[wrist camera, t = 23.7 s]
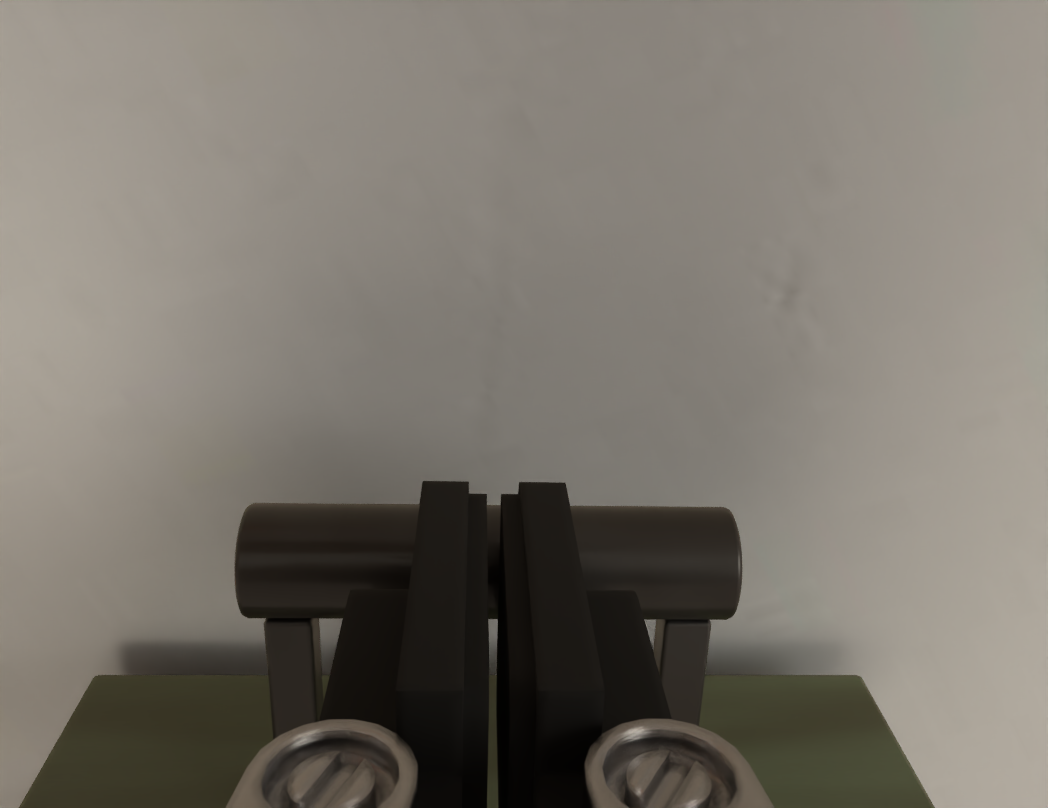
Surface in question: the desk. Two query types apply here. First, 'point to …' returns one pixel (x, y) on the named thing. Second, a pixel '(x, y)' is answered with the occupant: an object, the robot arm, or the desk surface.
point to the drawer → (385, 563)
